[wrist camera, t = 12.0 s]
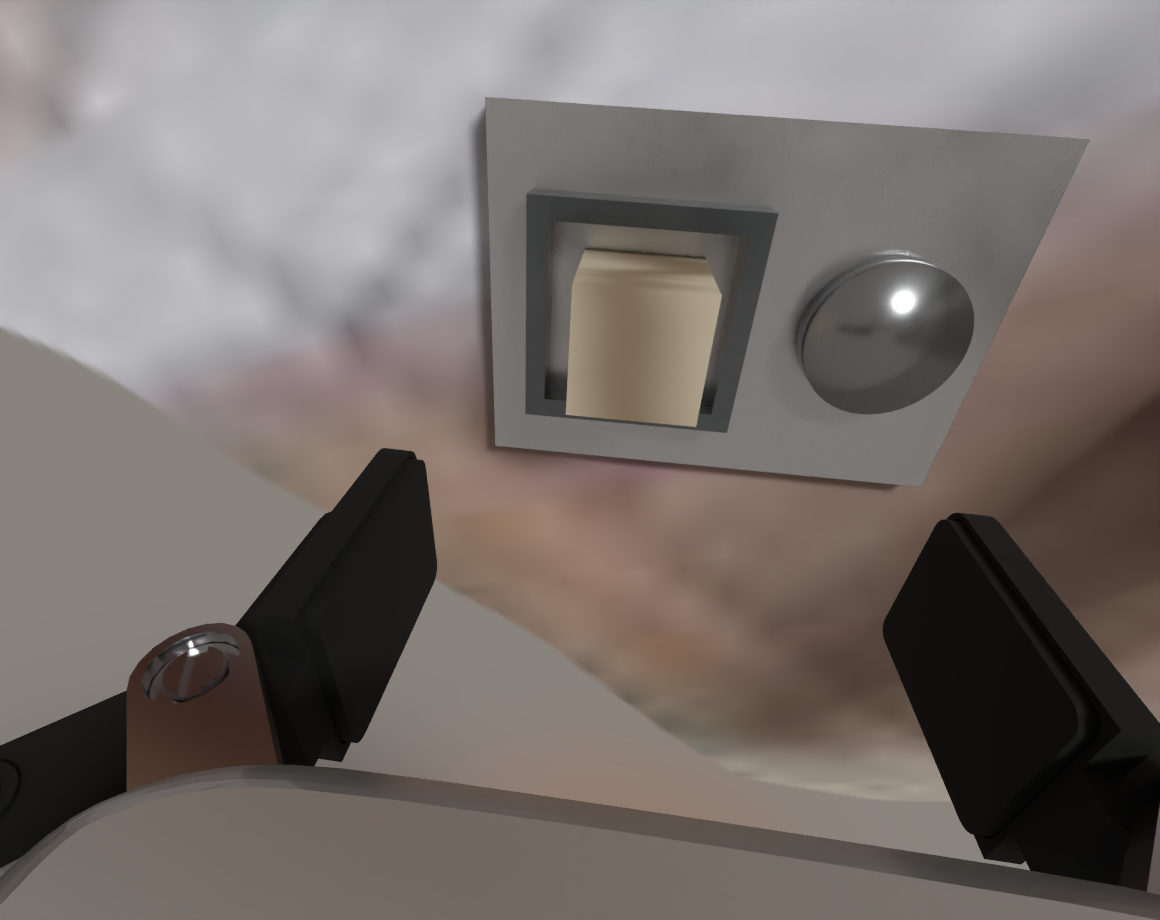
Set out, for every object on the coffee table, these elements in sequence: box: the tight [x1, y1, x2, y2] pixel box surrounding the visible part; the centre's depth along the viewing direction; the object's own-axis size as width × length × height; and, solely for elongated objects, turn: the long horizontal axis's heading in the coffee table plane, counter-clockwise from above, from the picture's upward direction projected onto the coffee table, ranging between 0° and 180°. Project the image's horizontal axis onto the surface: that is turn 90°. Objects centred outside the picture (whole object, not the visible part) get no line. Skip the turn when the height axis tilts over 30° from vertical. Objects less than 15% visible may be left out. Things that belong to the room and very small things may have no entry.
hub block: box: [566, 248, 722, 427], centre depth 20 cm, size 5×5×5 cm
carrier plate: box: [485, 97, 1090, 487], centre depth 22 cm, size 20×14×2 cm
